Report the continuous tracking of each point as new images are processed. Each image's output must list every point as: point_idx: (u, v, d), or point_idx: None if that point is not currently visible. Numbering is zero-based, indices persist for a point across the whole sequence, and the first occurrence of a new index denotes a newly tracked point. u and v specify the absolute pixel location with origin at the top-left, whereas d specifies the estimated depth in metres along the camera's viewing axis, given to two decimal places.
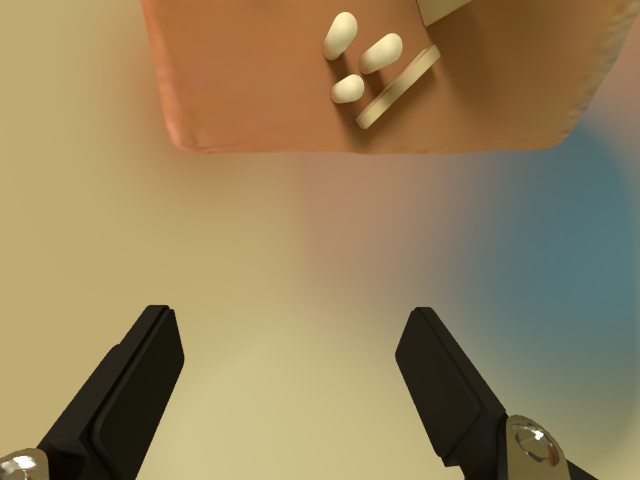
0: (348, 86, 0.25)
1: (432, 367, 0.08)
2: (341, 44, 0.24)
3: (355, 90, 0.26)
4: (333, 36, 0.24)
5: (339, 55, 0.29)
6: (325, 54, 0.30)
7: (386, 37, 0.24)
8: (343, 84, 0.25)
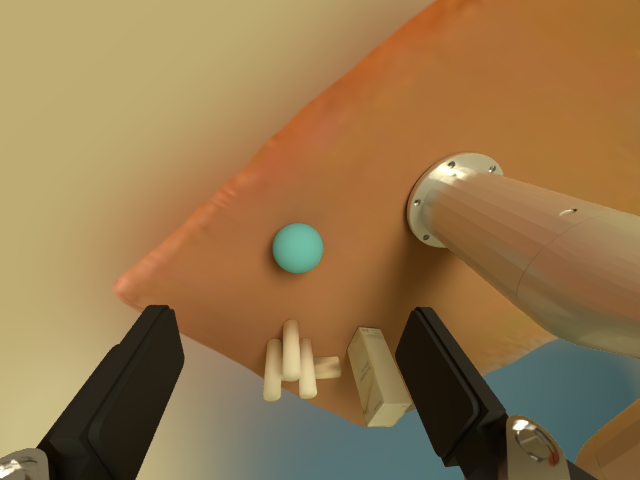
0: (269, 394, 0.32)
1: (432, 367, 0.08)
2: None
3: (272, 397, 0.33)
4: (283, 372, 0.31)
5: None
6: (283, 329, 0.37)
7: (310, 389, 0.33)
8: (267, 392, 0.32)
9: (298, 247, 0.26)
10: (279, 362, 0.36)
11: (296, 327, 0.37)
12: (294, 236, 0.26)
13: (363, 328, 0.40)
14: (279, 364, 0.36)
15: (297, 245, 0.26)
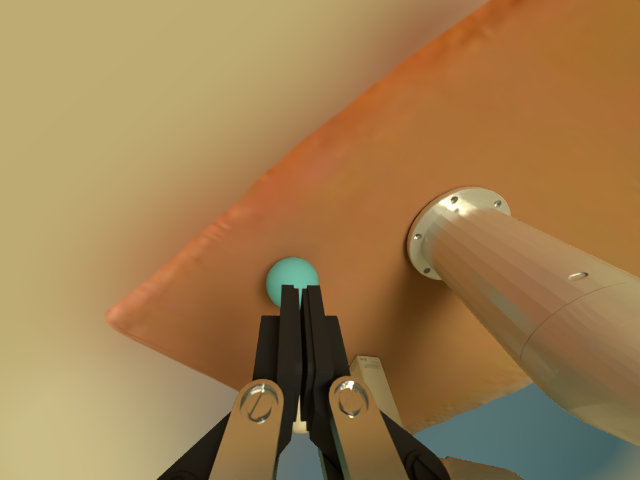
0: None
1: (303, 339, 0.09)
2: None
3: None
4: None
5: None
6: None
7: (303, 425, 0.32)
8: None
9: None
10: None
11: None
12: (288, 274, 0.25)
13: (361, 357, 0.39)
14: None
15: (290, 284, 0.25)
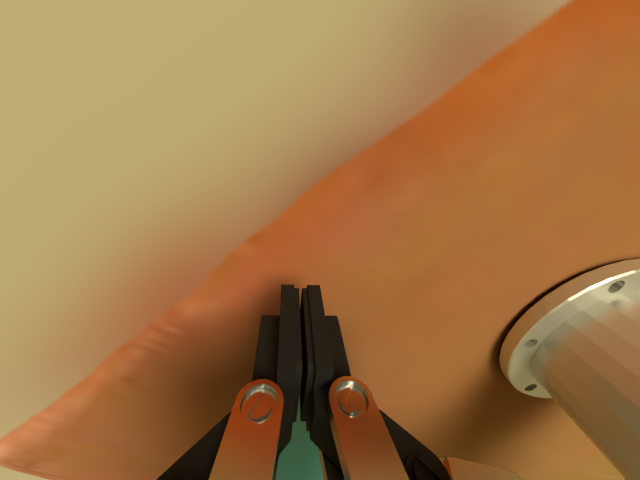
0: None
1: (303, 339, 0.09)
2: None
3: None
4: None
5: None
6: None
7: None
8: None
9: (299, 477, 0.12)
10: None
11: None
12: (291, 446, 0.12)
13: None
14: None
15: (295, 471, 0.12)
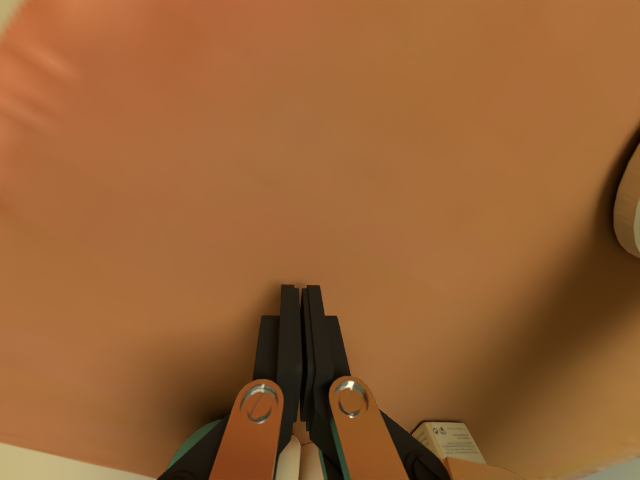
0: None
1: (303, 339, 0.09)
2: None
3: None
4: None
5: None
6: None
7: None
8: None
9: None
10: None
11: (294, 476, 0.17)
12: None
13: (433, 425, 0.20)
14: None
15: None
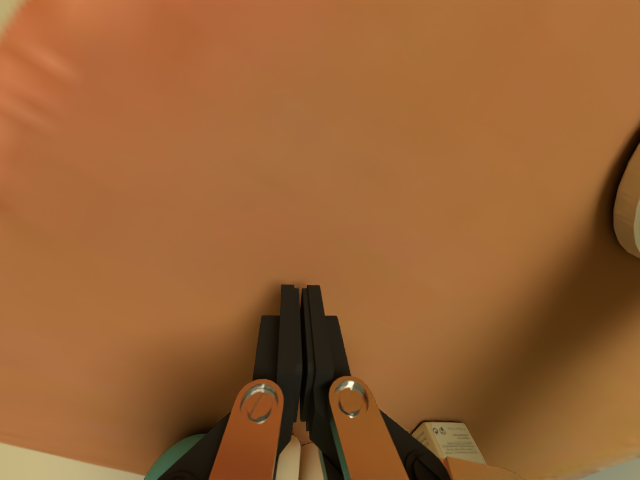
0: None
1: (303, 339, 0.09)
2: None
3: None
4: None
5: None
6: None
7: None
8: None
9: None
10: None
11: (294, 476, 0.17)
12: None
13: (433, 425, 0.20)
14: None
15: None
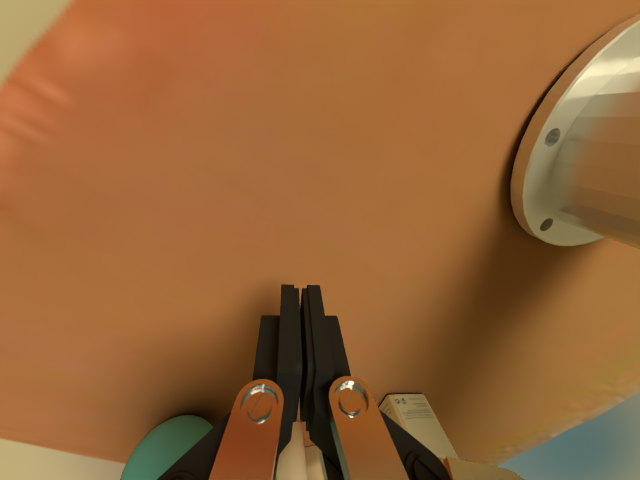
0: None
1: (303, 339, 0.09)
2: None
3: None
4: None
5: None
6: None
7: None
8: None
9: None
10: None
11: None
12: None
13: (396, 397, 0.22)
14: None
15: None
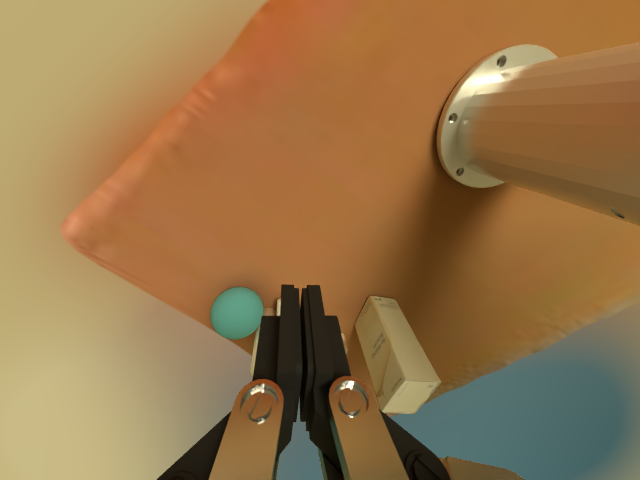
0: None
1: (303, 339, 0.09)
2: None
3: None
4: None
5: None
6: None
7: None
8: None
9: (241, 308, 0.26)
10: None
11: None
12: (248, 298, 0.27)
13: (375, 297, 0.33)
14: None
15: (242, 305, 0.26)
